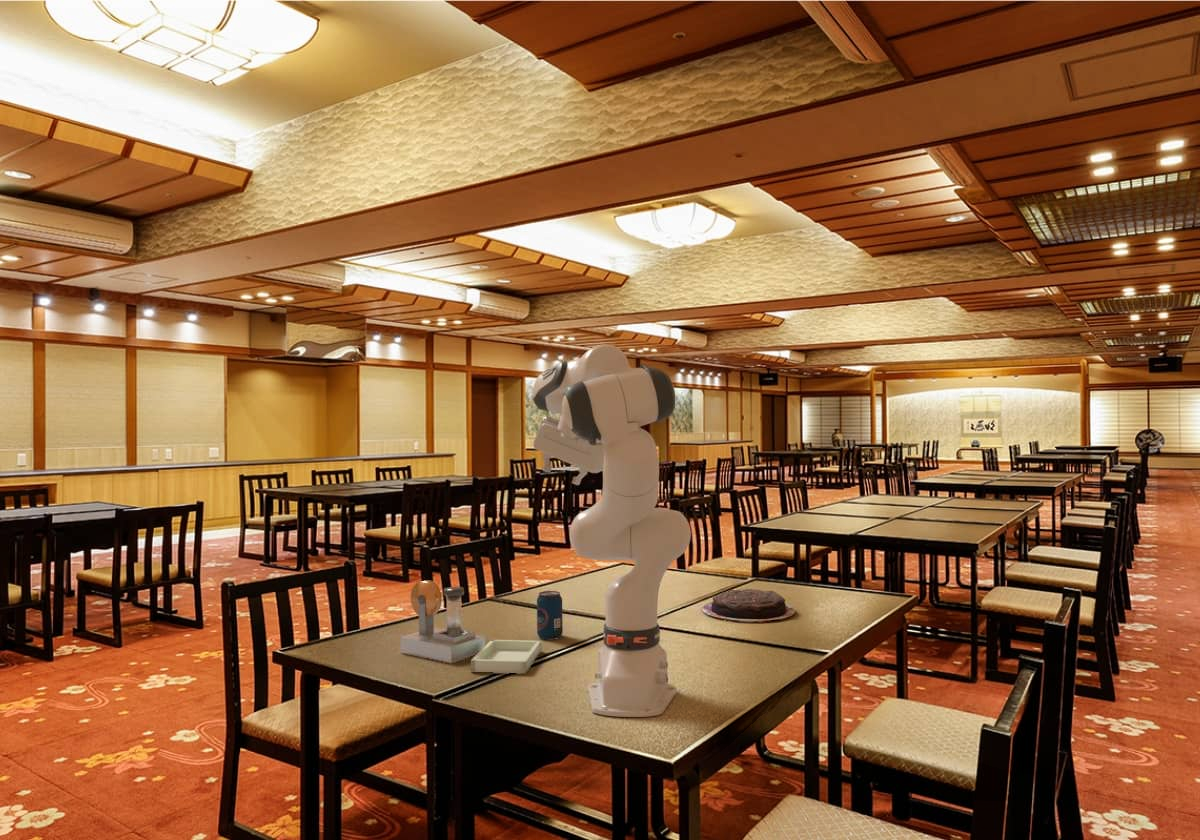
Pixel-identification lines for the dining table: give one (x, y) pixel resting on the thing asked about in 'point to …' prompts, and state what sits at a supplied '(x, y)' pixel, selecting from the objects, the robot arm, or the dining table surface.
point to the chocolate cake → (748, 606)
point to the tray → (506, 656)
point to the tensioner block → (437, 630)
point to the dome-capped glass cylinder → (453, 609)
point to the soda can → (549, 615)
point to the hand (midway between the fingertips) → (560, 477)
